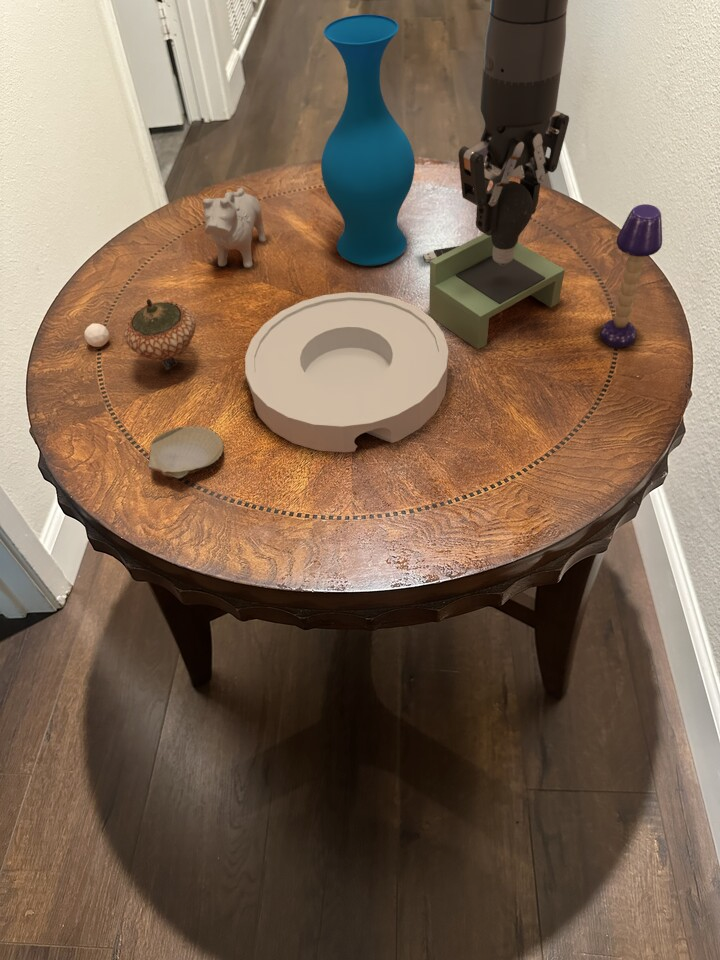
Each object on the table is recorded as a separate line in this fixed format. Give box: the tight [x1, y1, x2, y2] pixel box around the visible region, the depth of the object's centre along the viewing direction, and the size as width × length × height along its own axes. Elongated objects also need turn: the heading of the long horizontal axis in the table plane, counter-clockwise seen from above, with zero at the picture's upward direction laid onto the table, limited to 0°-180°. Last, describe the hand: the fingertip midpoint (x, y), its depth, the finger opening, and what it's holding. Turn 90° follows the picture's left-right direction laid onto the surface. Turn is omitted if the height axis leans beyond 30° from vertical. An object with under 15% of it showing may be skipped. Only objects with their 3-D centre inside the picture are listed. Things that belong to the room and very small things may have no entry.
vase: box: [320, 14, 416, 267], centre depth 94 cm, size 12×13×28 cm
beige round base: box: [244, 291, 449, 453], centre depth 86 cm, size 23×23×4 cm
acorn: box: [123, 298, 197, 370], centre depth 87 cm, size 8×8×10 cm
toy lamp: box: [599, 203, 663, 348], centre depth 83 cm, size 5×5×17 cm
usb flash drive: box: [422, 245, 460, 263], centre depth 102 cm, size 8×2×1 cm, turn 102°
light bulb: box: [488, 180, 533, 265], centre depth 85 cm, size 6×6×10 cm
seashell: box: [147, 425, 225, 479], centre depth 80 cm, size 8×3×8 cm
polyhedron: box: [83, 322, 110, 348], centre depth 93 cm, size 3×3×3 cm
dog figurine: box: [202, 187, 267, 269], centre depth 102 cm, size 5×13×11 cm, turn 169°
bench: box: [428, 233, 566, 351], centre depth 92 cm, size 14×9×8 cm, turn 127°
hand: (506, 221), depth 85 cm, fingers closed on light bulb, 5 cm apart
